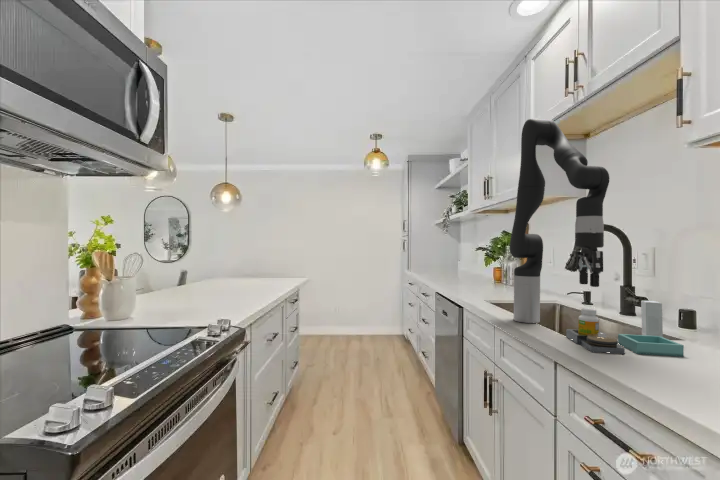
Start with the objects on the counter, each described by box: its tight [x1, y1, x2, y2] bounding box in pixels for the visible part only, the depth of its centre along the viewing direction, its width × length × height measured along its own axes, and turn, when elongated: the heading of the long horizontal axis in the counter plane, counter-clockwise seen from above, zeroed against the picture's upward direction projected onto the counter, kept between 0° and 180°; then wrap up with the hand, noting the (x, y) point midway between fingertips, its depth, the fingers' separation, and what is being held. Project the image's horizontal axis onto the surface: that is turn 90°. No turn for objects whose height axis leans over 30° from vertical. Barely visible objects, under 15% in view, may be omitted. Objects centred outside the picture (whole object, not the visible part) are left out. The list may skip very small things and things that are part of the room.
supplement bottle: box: [577, 307, 600, 335], centre depth 120 cm, size 5×5×10 cm
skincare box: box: [640, 300, 664, 337], centre depth 122 cm, size 6×4×12 cm
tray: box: [617, 333, 685, 358], centre depth 110 cm, size 11×11×3 cm
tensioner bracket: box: [565, 328, 626, 355], centre depth 115 cm, size 18×9×4 cm, turn 170°
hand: (588, 285), depth 120 cm, fingers open, 8 cm apart
